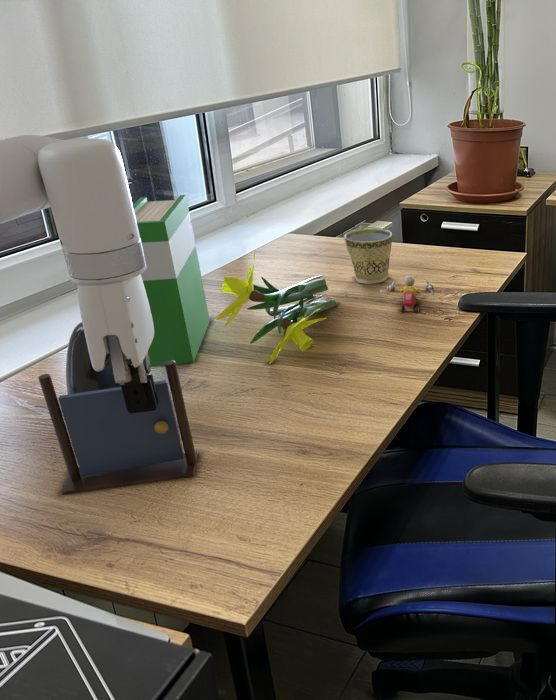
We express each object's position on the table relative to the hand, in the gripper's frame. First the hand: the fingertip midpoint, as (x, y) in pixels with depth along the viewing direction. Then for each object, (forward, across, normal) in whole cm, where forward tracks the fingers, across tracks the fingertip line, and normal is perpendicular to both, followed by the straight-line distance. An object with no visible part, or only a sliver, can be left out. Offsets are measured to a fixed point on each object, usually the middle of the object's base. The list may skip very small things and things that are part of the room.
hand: (143, 408), depth 83 cm
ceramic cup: (+10, -67, +33) cm, 75 cm away
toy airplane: (+10, -49, +38) cm, 63 cm away
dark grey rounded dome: (+10, -17, -9) cm, 22 cm away
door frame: (+10, -1, -4) cm, 11 cm away
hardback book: (+10, -41, -4) cm, 43 cm away
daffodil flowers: (+10, -40, +15) cm, 44 cm away
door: (+9, -1, -3) cm, 10 cm away
